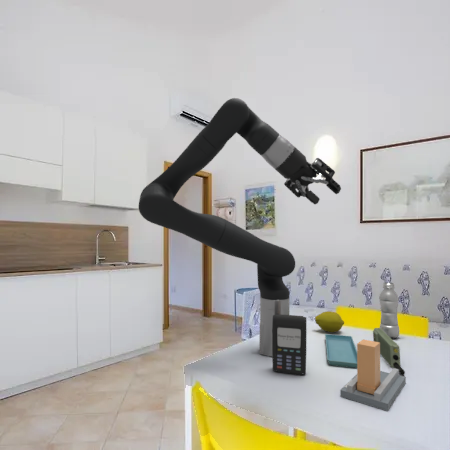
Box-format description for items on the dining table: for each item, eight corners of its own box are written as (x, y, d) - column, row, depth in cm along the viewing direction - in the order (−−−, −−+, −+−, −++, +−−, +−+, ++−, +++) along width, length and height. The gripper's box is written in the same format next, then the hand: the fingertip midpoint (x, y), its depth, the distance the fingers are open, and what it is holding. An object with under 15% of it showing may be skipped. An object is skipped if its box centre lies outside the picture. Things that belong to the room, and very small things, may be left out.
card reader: (270, 372, 89) (271, 316, 90) (272, 367, 93) (273, 313, 93) (306, 376, 87) (306, 318, 87) (306, 371, 90) (306, 315, 91)
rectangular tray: (362, 371, 92) (361, 362, 92) (327, 367, 94) (327, 358, 94) (351, 343, 117) (351, 336, 117) (324, 340, 120) (324, 333, 120)
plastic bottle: (403, 340, 120) (402, 284, 121) (384, 339, 120) (383, 284, 121) (394, 335, 126) (393, 282, 127) (376, 334, 126) (375, 282, 127)
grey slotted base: (387, 411, 69) (387, 396, 70) (340, 396, 76) (340, 383, 76) (405, 383, 83) (405, 370, 84) (364, 372, 90) (364, 361, 90)
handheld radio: (383, 347, 112) (409, 377, 87) (373, 347, 112) (396, 377, 88) (382, 327, 112) (408, 352, 88) (372, 327, 113) (394, 351, 88)
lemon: (344, 331, 131) (344, 310, 132) (344, 336, 124) (344, 314, 124) (316, 328, 135) (316, 308, 135) (314, 333, 128) (314, 312, 128)
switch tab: (374, 394, 73) (374, 347, 74) (357, 389, 75) (356, 343, 76) (380, 387, 77) (380, 342, 77) (363, 382, 79) (363, 339, 80)
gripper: (263, 177, 91) (306, 214, 93) (292, 153, 78) (341, 198, 80) (275, 159, 94) (316, 196, 96) (305, 134, 81) (352, 177, 84)
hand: (328, 196), depth 88 cm, fingers open, 8 cm apart
